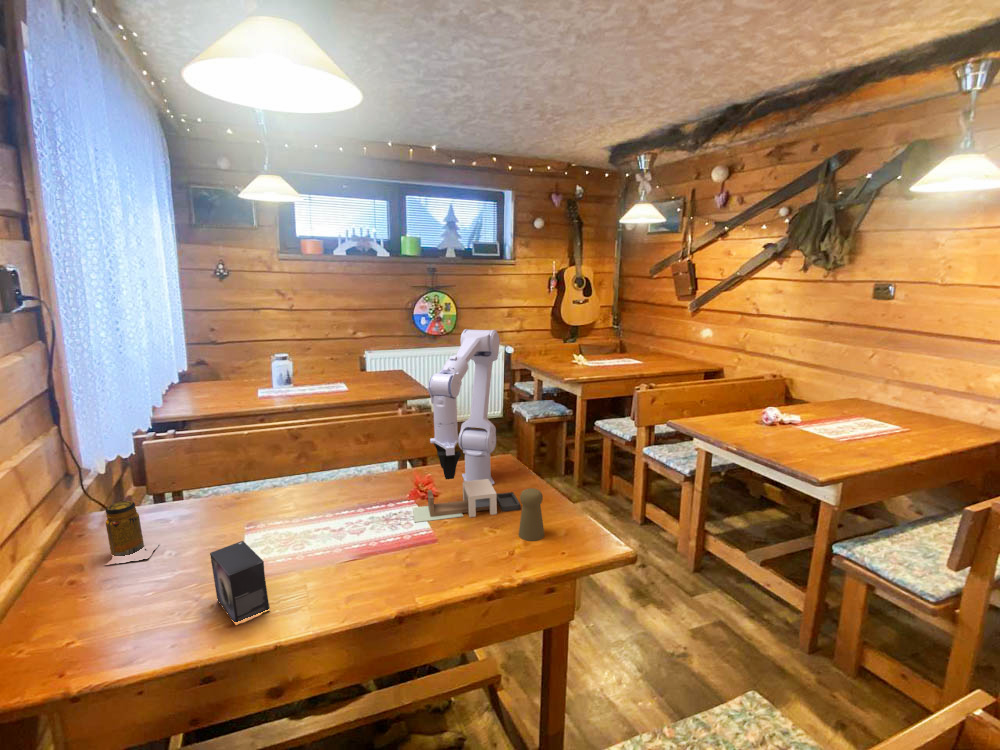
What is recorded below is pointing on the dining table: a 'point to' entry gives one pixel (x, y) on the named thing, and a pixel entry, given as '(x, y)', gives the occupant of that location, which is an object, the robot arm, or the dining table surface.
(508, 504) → the dark grey tray
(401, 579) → the dining table surface
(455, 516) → the mat
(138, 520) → the condiment
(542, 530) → the olive brown pawn
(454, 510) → the brown t-shaped bar
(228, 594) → the small box
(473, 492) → the tunnel
